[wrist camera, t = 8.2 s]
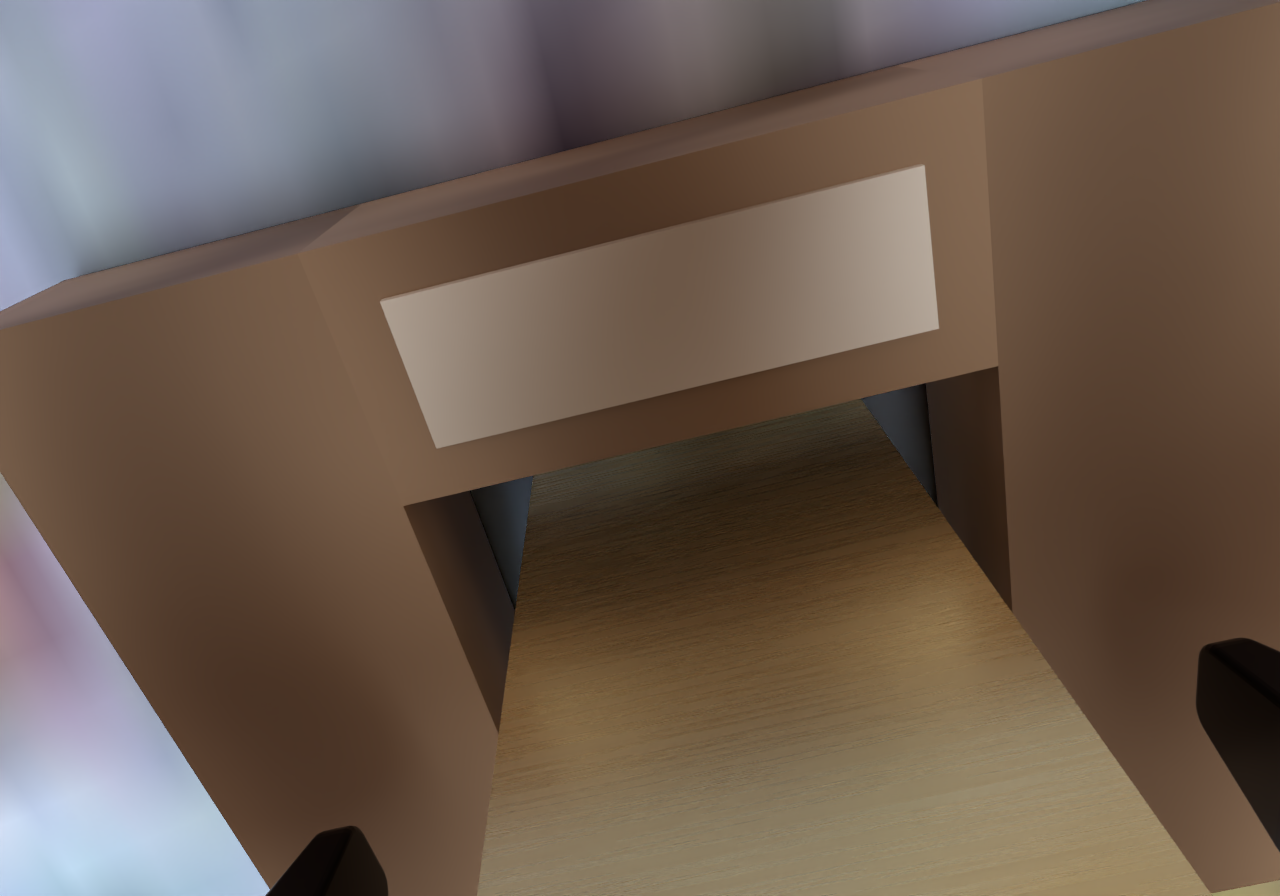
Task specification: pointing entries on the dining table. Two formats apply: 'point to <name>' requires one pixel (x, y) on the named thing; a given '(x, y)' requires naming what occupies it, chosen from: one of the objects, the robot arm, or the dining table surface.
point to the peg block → (789, 692)
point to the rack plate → (690, 408)
